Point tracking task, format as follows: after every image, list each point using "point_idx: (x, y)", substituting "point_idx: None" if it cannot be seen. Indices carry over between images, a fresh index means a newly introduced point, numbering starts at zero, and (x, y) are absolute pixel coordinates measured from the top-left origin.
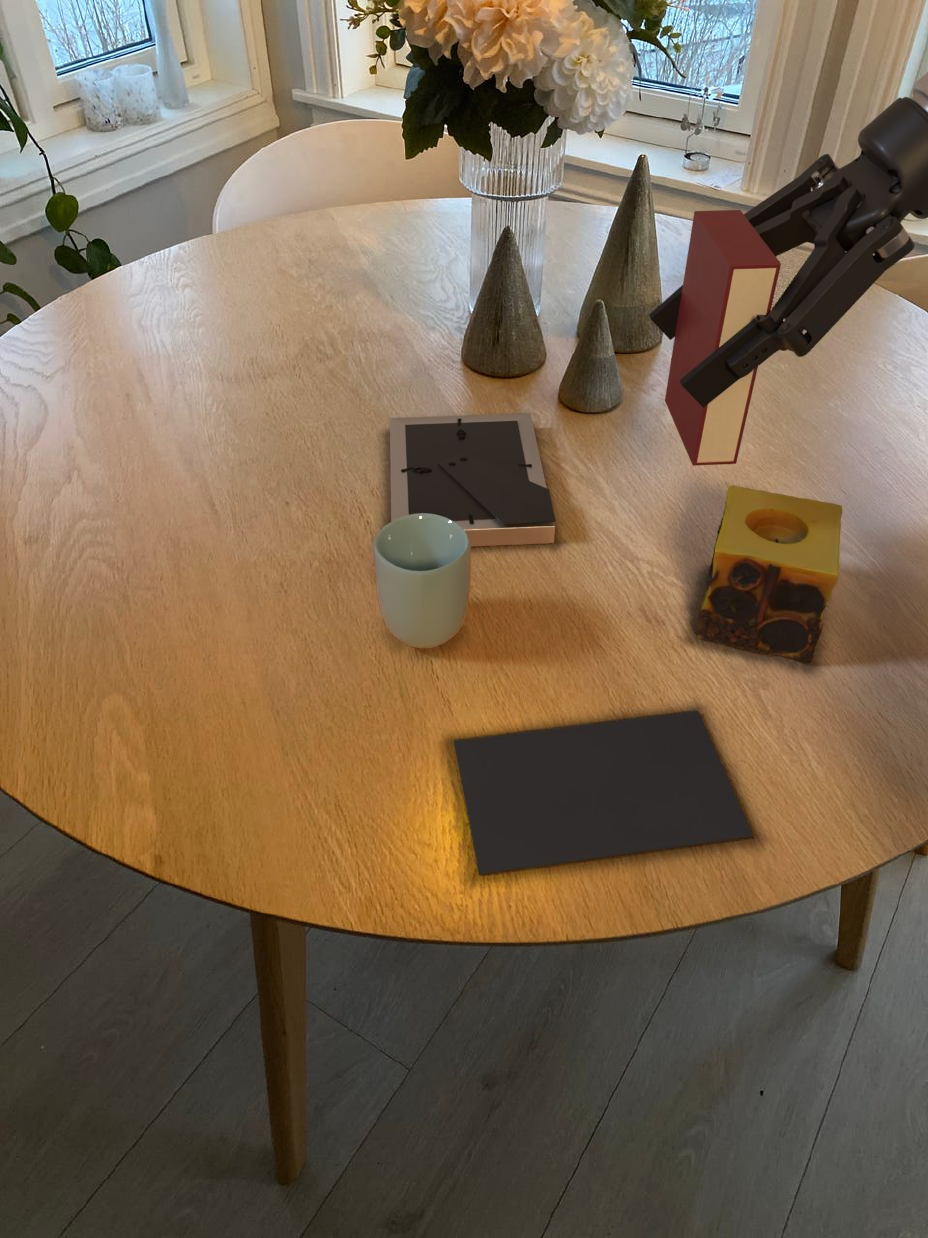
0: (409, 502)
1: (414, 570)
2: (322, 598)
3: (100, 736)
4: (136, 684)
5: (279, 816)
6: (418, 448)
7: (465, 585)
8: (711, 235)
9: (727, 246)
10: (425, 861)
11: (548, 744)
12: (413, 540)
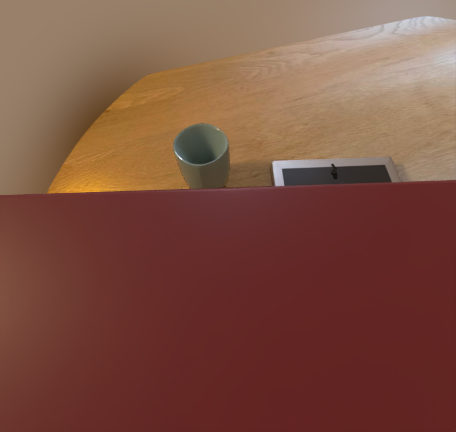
0: (300, 168)
1: (214, 159)
2: (233, 142)
3: (164, 89)
4: (187, 93)
5: (115, 139)
6: (358, 172)
7: (190, 178)
8: (388, 186)
9: (217, 237)
10: (79, 184)
11: None
12: (220, 148)
